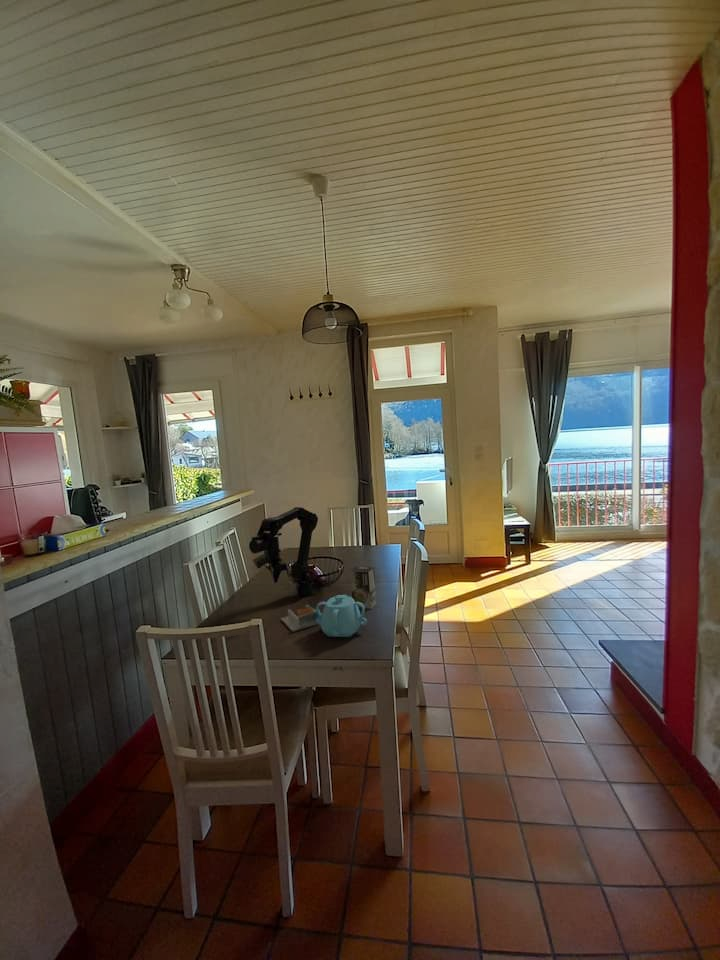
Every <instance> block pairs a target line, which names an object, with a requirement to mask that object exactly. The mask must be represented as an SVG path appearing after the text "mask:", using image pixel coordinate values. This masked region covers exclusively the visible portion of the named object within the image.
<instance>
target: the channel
mask: <svg viewBox="0 0 720 960" xmlns="http://www.w3.org/2000/svg"><path fill="white" fill-rule="evenodd" d="M306 607H309V608H311V609H312V610H314V611H315V612H311V613H308V614H304V615H301V616H298V615H297V614H295V613H294V611H293V610H292V609H290V608H289V609H287V616H284V617H281V618H280V619H281V622H283V624H284V625H285V626H286V627H287V628H288V629H289V630H290V631H291V632H292V633H295V632H297V631H300V630H304V629H307V628H310V627H314V626H317V625H318V624H317V623H316V619H317V618H318V617H319V616H318V614H317V611H316V608H313V607H312V606H311V605H310V604H306V605H305V608H306ZM321 615H322V613H321ZM318 620H319V621H320V619H318Z"/></svg>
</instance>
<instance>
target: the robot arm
mask: <svg viewBox="0 0 720 960" xmlns="http://www.w3.org/2000/svg"><path fill="white" fill-rule="evenodd" d="M296 519H297V520H298V521H299V527H300V530H301V535H300V541H299V546H298V553H297V560H296V562H295V563H292V564H291V568H290V569H291V570H290V577H291V578H292V580H293V582H294V583H296V586H295V590H296V591H295V592H296V595H297V596H298V597H299V598H301V599H302V598H306V597H310V596H313V595H314V592H313V588H312V587H313V586H312V583H313V582H314V581H315V576H314V575H313V574H311V573H310V571H311V570H310V569H311V568H310V565H309V563H308V562H309V556H310V547H311V542H312V535H313V532H314V530H315V529H316V528H317V526H318V521H319V518H318V515H317V514H316V513H314V512H311V511H310V510H307V509H306V508H304V507H302V506H301V507H300V506H296V507H293V508H291V509H290V510H288V511H286V512H283V513H281V514H279V515H277V516H272V517H268V518H264V519H263V520H262V521H261V524H260V527H259V529H258V531H257V534H256V535H257V536H252V537H251V540H250V542H249V545H248V548H249V550H250V551H249V552H251V553H252V554H259V553H261V552H263V553H262V554H261V555H259V556H257V557H256V558H254V559H253V560H252V562H253V564H254V566H255V567H256V569H257V570H258V569H261V568H262V567H264V566H265V565H266V566H265V568H266V569H267V570H268V571H270V572H269V573H270V575H271V577H272V580H273V583H275V584H276V583H278V580H279V578H280V575H281V573H282V572H284V571H288V565H287V563H285V562H283V561H282V558H281V552H282V551H281V550H282V549H280V542H279V540H280V539H279V537H280V536H282V534H283V533H282V532H280V531H281V529H282V528H283V526H284V525H285V524H287V523H290V522H292V521H293V520H296Z"/></svg>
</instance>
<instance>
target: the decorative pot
mask: <svg viewBox="0 0 720 960" xmlns="http://www.w3.org/2000/svg"><path fill="white" fill-rule="evenodd" d="M357 605H359V606H361V611H360V609H359V608H360V607H358V606H357ZM320 606H324V607H323V610H322V612H321V610H320ZM315 609H316V611H317V614H318V616H319V617H318V618H317V619H316V623H317V625H320V628H321V631H322V632H323V634H324V635H326V636H327V637H330V638H333V637H334V638H343V637H344V638H350V637H352V636H353V635H354V634H355V633H357V631H358V630H359V629H360V626H365V625H366V624H368V623H367V622H368V620H367V618H365V617H364V615H365V611H366V608H365V607H364V605H363V604H362V603H360V602H355V601H354V599H353V598H352V596H349V595H347V594H338V595H335V596H333V597H330V598H329V599H328V600H327V601H320V602H318V603H317V604H316V607H315ZM321 614H322V615H321ZM318 619H320V621H319V620H318Z"/></svg>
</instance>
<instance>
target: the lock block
mask: <svg viewBox="0 0 720 960" xmlns="http://www.w3.org/2000/svg"><path fill="white" fill-rule="evenodd" d="M296 611H297V612H296V613H297V614H296V615H297V616H301V615H304V614H308V613H311V612H315V611H314V610H312V609H311V608H309V607H306V606H305V607H303V608H300V609H297V610H296Z"/></svg>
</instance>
